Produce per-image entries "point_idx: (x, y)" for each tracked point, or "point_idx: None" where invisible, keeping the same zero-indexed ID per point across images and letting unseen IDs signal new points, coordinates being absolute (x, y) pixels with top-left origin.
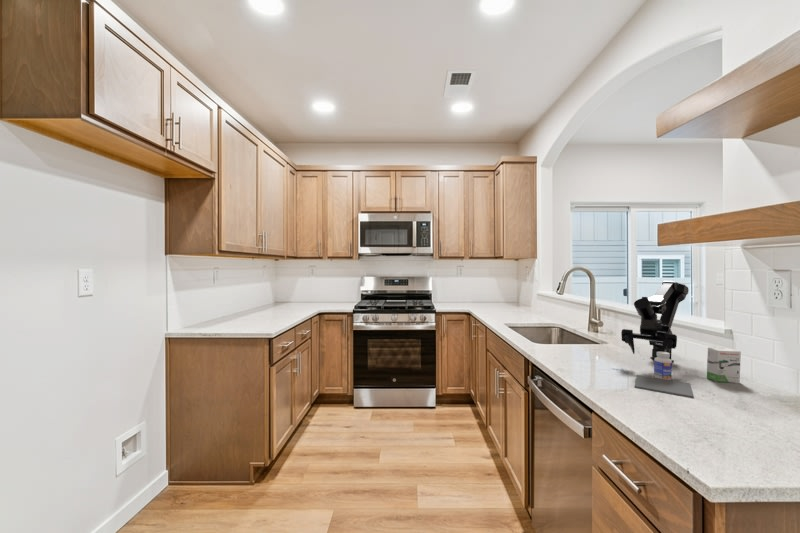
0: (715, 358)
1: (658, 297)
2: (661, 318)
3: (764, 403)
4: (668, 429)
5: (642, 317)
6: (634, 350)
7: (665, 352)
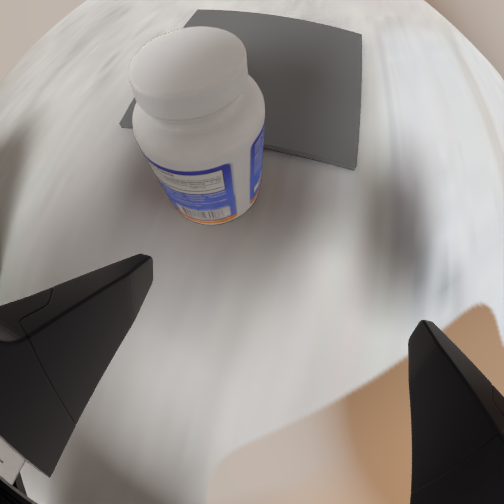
0: None
1: None
2: None
3: (30, 71)
4: None
5: None
6: (427, 346)
7: (154, 70)
